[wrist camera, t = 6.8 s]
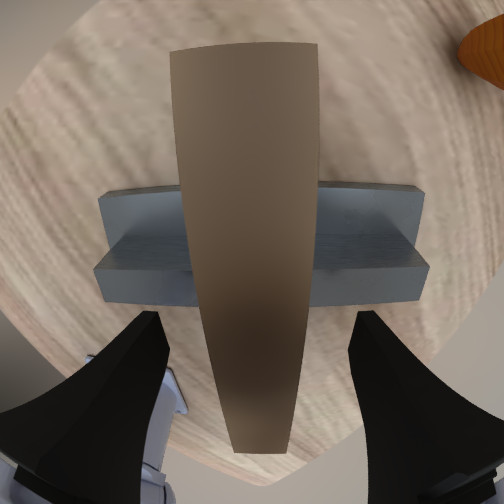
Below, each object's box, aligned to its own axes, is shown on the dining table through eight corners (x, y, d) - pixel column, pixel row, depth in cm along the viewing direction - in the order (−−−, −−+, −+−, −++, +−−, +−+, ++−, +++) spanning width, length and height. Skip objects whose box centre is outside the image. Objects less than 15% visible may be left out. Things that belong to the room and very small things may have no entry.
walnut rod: (238, 399, 17) (234, 452, 13) (207, 71, 8) (169, 51, 5) (284, 399, 17) (286, 453, 13) (296, 68, 8) (317, 43, 4)
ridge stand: (132, 288, 18) (105, 333, 14) (107, 192, 15) (63, 223, 11) (394, 286, 17) (419, 333, 13) (415, 186, 14) (458, 217, 10)
